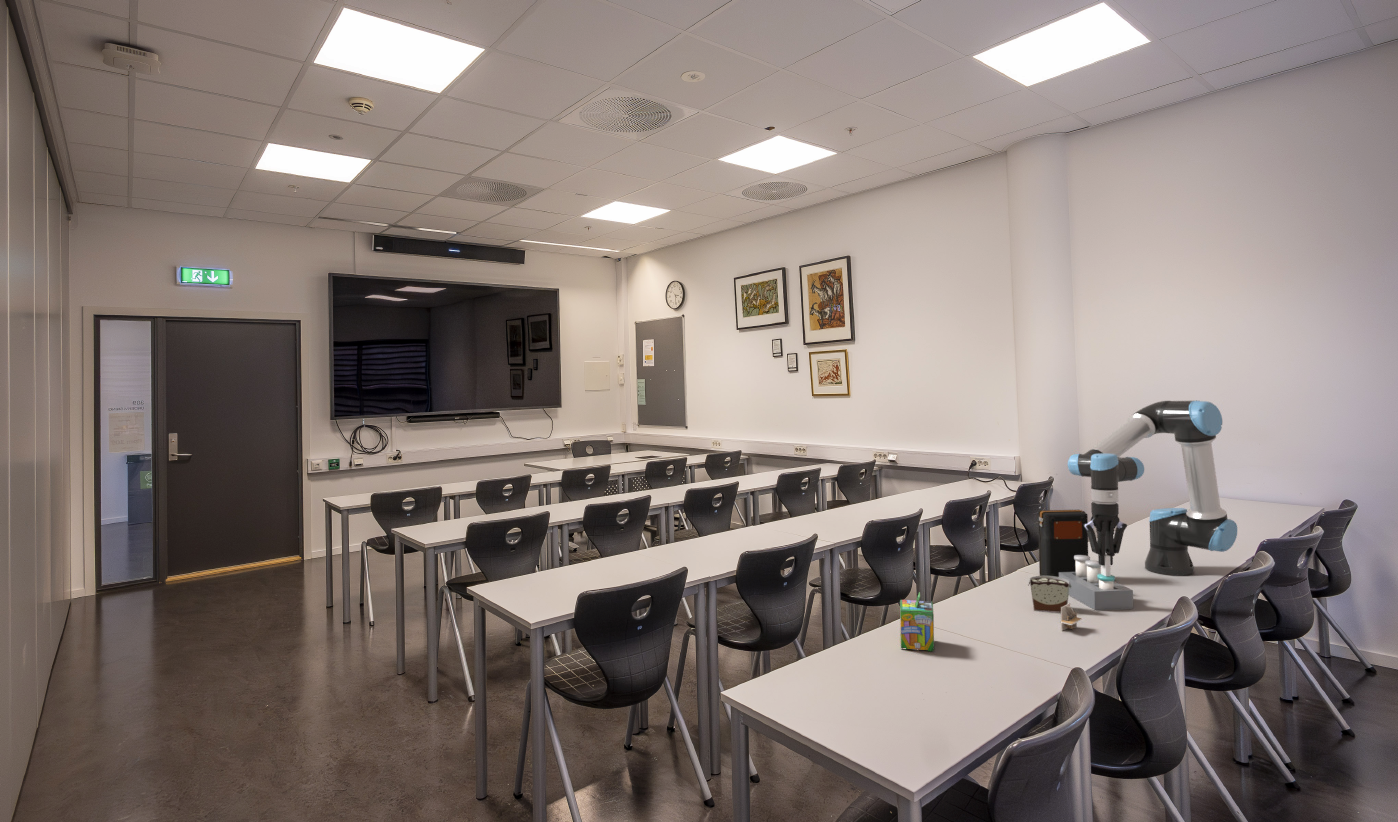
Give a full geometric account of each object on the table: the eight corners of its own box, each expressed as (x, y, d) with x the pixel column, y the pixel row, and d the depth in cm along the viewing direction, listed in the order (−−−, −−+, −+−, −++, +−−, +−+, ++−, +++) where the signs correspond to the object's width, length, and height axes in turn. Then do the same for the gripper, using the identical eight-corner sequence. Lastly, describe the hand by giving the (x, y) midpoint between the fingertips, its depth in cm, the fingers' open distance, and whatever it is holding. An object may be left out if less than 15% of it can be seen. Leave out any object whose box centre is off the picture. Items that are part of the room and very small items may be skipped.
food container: (1068, 606, 221) (1067, 576, 220) (1072, 613, 215) (1071, 581, 214) (1026, 604, 225) (1025, 574, 224) (1028, 610, 219) (1028, 579, 218)
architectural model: (1082, 630, 201) (1081, 605, 201) (1071, 636, 197) (1071, 611, 197) (1070, 627, 204) (1069, 602, 204) (1059, 633, 200) (1058, 608, 200)
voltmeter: (1081, 575, 254) (1079, 508, 253) (1092, 582, 245) (1091, 512, 244) (1037, 575, 255) (1035, 509, 254) (1046, 582, 247) (1045, 513, 246)
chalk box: (900, 638, 200) (898, 587, 200) (933, 640, 197) (932, 589, 197) (900, 650, 191) (898, 597, 191) (935, 652, 189) (933, 599, 188)
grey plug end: (1085, 577, 237) (1085, 554, 236) (1093, 581, 232) (1093, 558, 231) (1071, 578, 237) (1071, 555, 236) (1079, 582, 232) (1078, 558, 232)
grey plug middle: (1097, 583, 230) (1096, 559, 229) (1105, 587, 225) (1105, 563, 224) (1082, 583, 230) (1082, 560, 229) (1090, 588, 225) (1090, 564, 225)
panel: (1093, 588, 238) (1093, 571, 238) (1133, 608, 216) (1132, 590, 216) (1059, 589, 238) (1058, 572, 238) (1094, 610, 216) (1094, 591, 216)
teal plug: (1109, 597, 223) (1109, 573, 222) (1118, 602, 218) (1118, 577, 218) (1094, 598, 223) (1094, 573, 222) (1103, 603, 218) (1102, 578, 218)
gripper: (1090, 504, 215) (1091, 579, 216) (1132, 503, 215) (1133, 577, 216) (1077, 500, 223) (1079, 572, 224) (1118, 499, 223) (1119, 571, 224)
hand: (1105, 574), depth 220 cm, fingers closed
